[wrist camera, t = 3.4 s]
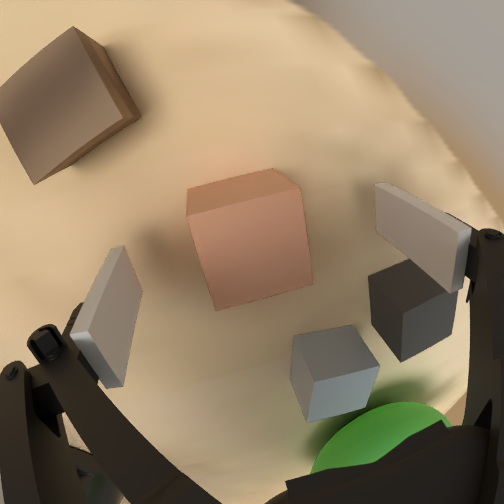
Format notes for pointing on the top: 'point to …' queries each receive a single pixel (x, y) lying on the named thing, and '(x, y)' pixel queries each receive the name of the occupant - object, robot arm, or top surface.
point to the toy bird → (375, 434)
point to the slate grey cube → (332, 372)
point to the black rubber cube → (410, 309)
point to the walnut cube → (63, 104)
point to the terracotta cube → (250, 237)
